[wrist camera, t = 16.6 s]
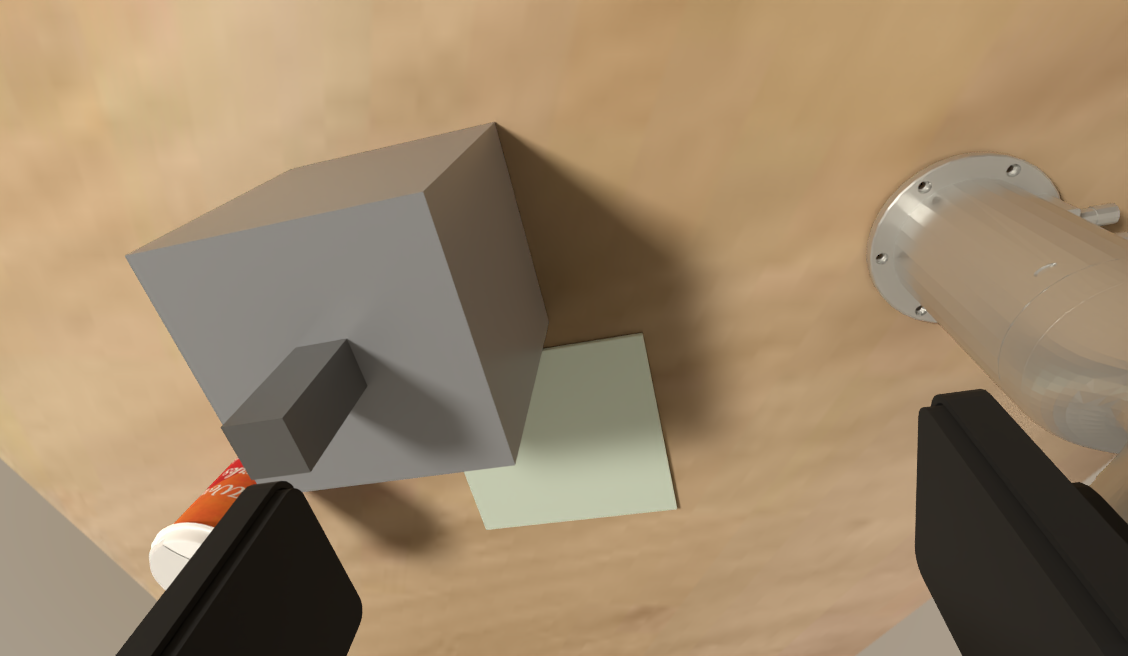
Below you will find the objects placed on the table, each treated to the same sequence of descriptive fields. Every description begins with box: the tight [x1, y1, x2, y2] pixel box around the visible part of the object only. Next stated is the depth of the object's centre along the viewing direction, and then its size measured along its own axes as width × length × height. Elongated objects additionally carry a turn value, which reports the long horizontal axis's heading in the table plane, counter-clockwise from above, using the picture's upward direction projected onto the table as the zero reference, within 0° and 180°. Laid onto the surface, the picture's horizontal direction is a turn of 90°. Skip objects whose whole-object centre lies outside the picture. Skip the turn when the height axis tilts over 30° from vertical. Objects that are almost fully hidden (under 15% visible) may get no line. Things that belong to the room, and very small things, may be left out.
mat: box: [464, 333, 677, 530], centre depth 57 cm, size 19×19×1 cm
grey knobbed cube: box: [125, 122, 549, 492], centre depth 39 cm, size 16×16×25 cm
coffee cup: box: [149, 457, 303, 590], centre depth 54 cm, size 8×8×15 cm
